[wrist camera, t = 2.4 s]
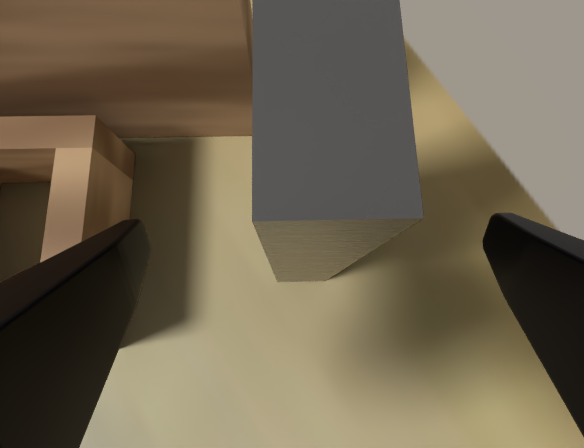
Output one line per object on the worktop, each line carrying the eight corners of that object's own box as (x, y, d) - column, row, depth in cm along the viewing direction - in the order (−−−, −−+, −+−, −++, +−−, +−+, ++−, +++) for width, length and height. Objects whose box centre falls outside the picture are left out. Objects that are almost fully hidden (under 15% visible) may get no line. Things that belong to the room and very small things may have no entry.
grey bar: (325, 280, 18) (423, 218, 5) (277, 282, 18) (252, 221, 5) (321, 204, 18) (398, -16, 6) (276, 204, 18) (252, -15, 6)
